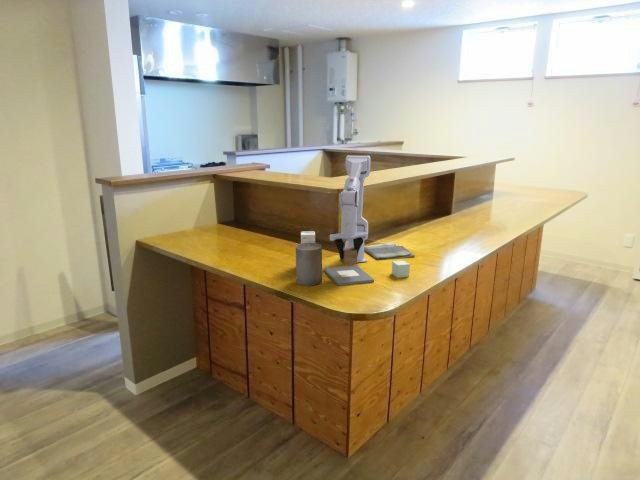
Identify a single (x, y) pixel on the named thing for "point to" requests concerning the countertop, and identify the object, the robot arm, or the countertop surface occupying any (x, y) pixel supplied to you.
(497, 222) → the countertop surface
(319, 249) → the pillar candle
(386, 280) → the countertop surface
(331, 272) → the base plate
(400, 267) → the sage block
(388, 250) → the dish towel
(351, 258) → the walnut block
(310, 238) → the syrup box
